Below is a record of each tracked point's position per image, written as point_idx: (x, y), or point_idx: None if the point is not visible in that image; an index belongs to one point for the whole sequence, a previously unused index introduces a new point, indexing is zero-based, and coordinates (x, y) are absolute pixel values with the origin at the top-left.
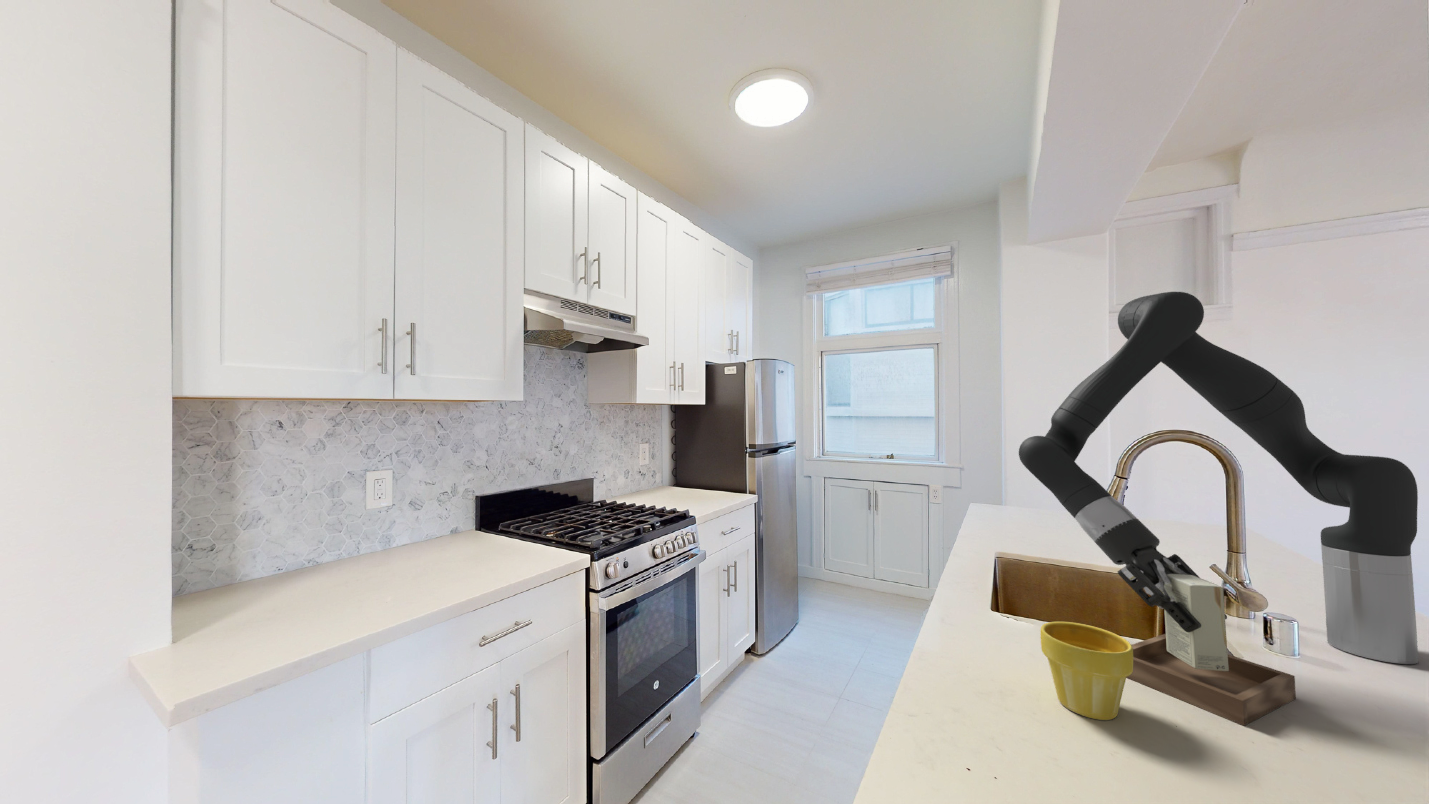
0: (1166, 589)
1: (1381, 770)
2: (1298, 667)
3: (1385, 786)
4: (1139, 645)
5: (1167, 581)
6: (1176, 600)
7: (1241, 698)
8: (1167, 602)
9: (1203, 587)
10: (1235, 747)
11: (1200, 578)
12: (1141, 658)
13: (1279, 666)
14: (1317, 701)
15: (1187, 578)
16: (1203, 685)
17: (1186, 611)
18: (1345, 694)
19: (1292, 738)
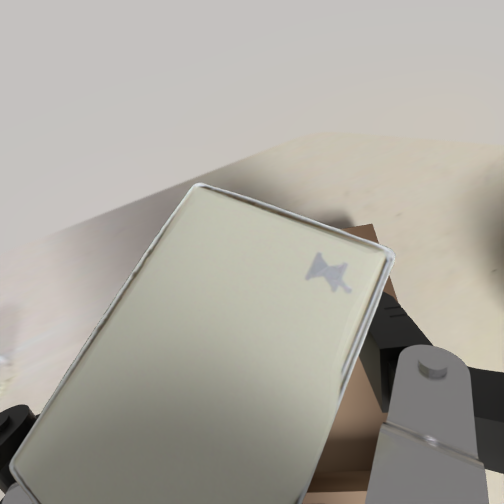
0: (452, 428)
1: (302, 154)
2: (47, 333)
3: (336, 138)
4: (321, 500)
5: (425, 473)
6: (407, 350)
7: (364, 229)
8: (471, 371)
9: (304, 222)
10: (444, 211)
11: (68, 372)
12: (324, 475)
13: (66, 347)
14: None
15: (196, 394)
16: (387, 279)
17: (380, 309)
18: (107, 261)
19: (326, 209)
